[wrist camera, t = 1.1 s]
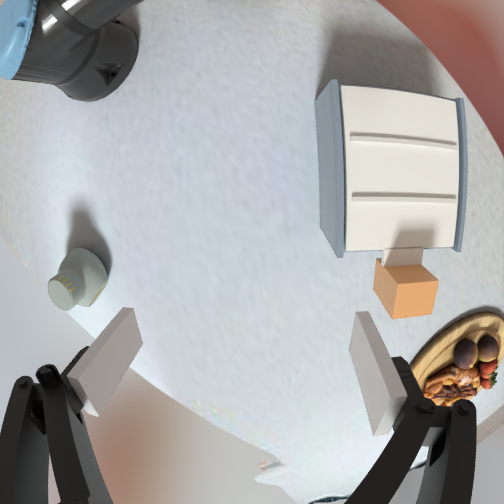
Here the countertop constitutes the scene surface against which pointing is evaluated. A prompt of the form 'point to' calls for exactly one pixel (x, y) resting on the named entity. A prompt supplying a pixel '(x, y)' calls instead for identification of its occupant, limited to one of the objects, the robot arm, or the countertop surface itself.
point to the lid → (400, 188)
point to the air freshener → (78, 280)
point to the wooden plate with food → (461, 359)
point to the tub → (334, 166)
